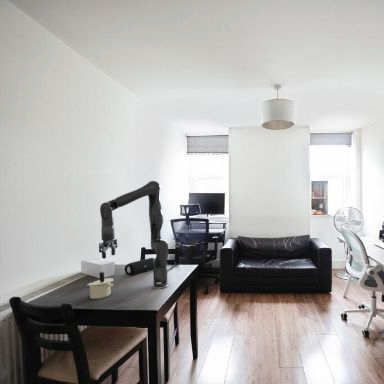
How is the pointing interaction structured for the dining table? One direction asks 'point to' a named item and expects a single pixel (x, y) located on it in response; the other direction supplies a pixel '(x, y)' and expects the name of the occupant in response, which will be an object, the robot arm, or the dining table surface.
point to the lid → (102, 280)
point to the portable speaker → (139, 266)
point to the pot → (100, 290)
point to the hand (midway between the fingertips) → (108, 256)
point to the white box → (97, 267)
